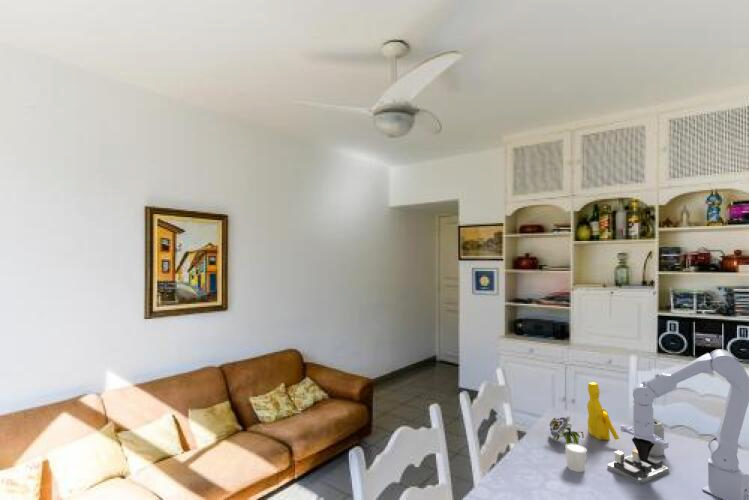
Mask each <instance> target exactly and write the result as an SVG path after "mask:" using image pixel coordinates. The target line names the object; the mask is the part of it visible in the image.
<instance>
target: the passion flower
mask: <svg viewBox="0 0 749 500" xmlns="http://www.w3.org/2000/svg"><path fill="white" fill-rule="evenodd" d="M569 422H570V416H566V417H558V418H557V417H553V419H551V420H550V421H549V427H550V428H549V430H550V434H551V436H552V439H551V441H555V442H556V441H558V440H559V439H560V438H562V437H564V439H565V441H566V444H570V443H573V444H579V443H580V441H579V438H582V439H585V437H584V435H585V434H584V431H580V433H581V435H580V434H579V432H578V431H574V430H573V431H572V429H571V428H572V424H571V423H569ZM581 436H582V437H581Z"/></svg>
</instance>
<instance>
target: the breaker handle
mask: <svg viewBox="0 0 749 500" xmlns="http://www.w3.org/2000/svg"><path fill="white" fill-rule="evenodd" d="M631 455H632V460H634V461H636V462H638V463H639V462H641V460H640V457H639V454H638V451H637V450H636V448H635V449H632V451H631Z"/></svg>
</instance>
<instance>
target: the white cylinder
mask: <svg viewBox="0 0 749 500" xmlns="http://www.w3.org/2000/svg"><path fill="white" fill-rule="evenodd" d="M564 448H565V457H566V465H567V468H568V469H569V470H570V471H574V472H576V473H577V472H578V473H583V472H585V471H586V465H587V454H588V450H587V448H586V447H585V446H583V445H582V444H579V443H578V444H574V442H572V443H570V444H567V443H566V444H565V446H564Z"/></svg>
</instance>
